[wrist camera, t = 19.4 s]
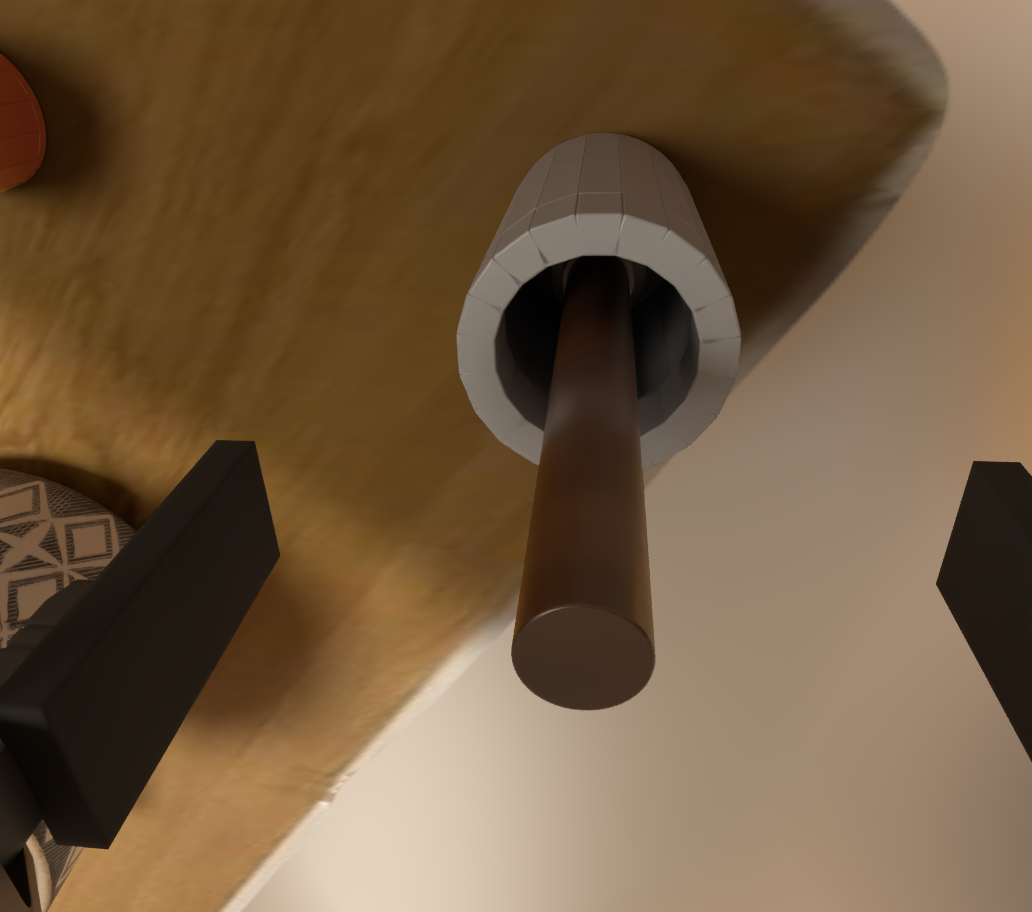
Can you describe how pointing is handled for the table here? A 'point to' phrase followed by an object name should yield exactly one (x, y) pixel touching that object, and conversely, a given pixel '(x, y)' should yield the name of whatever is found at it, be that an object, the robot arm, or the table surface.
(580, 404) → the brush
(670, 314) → the grey cylindrical holder
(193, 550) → the robot arm
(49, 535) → the planter
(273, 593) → the table surface
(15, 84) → the brush cup
